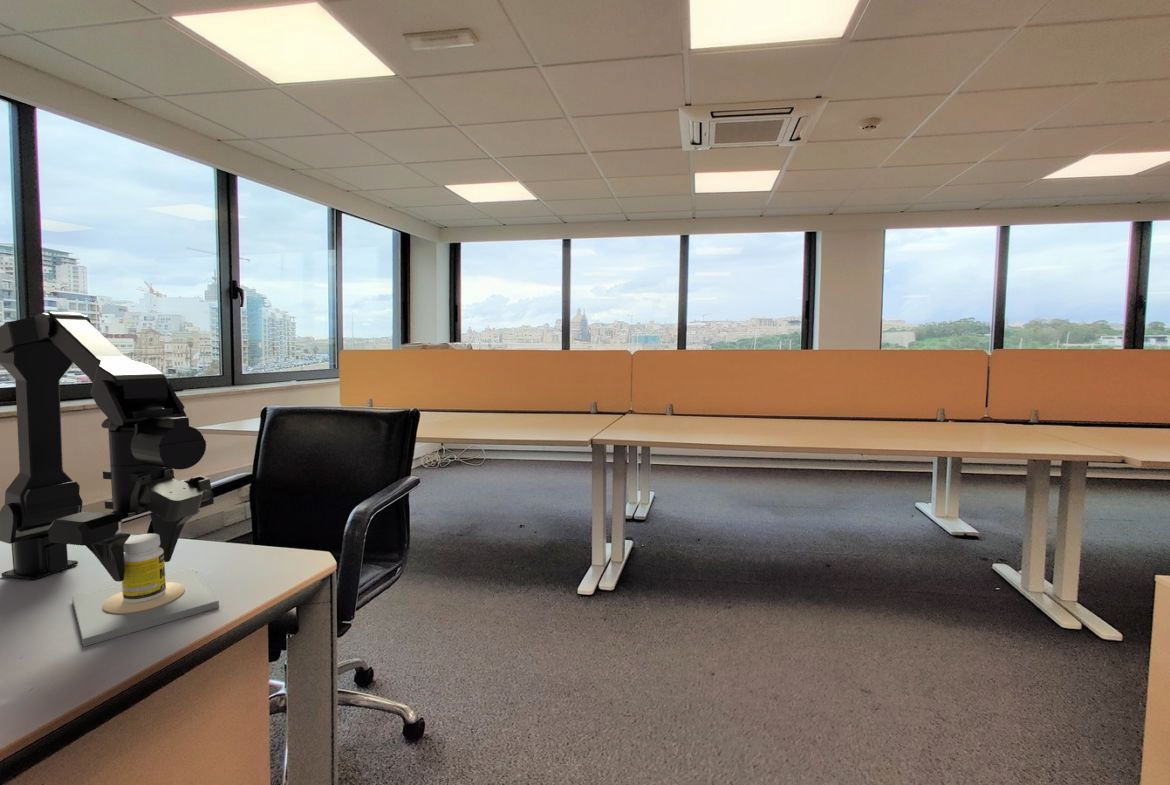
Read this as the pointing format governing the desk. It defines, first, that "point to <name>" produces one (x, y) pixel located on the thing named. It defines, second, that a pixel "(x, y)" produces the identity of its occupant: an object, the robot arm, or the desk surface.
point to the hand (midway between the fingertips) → (143, 570)
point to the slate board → (140, 607)
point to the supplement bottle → (143, 569)
